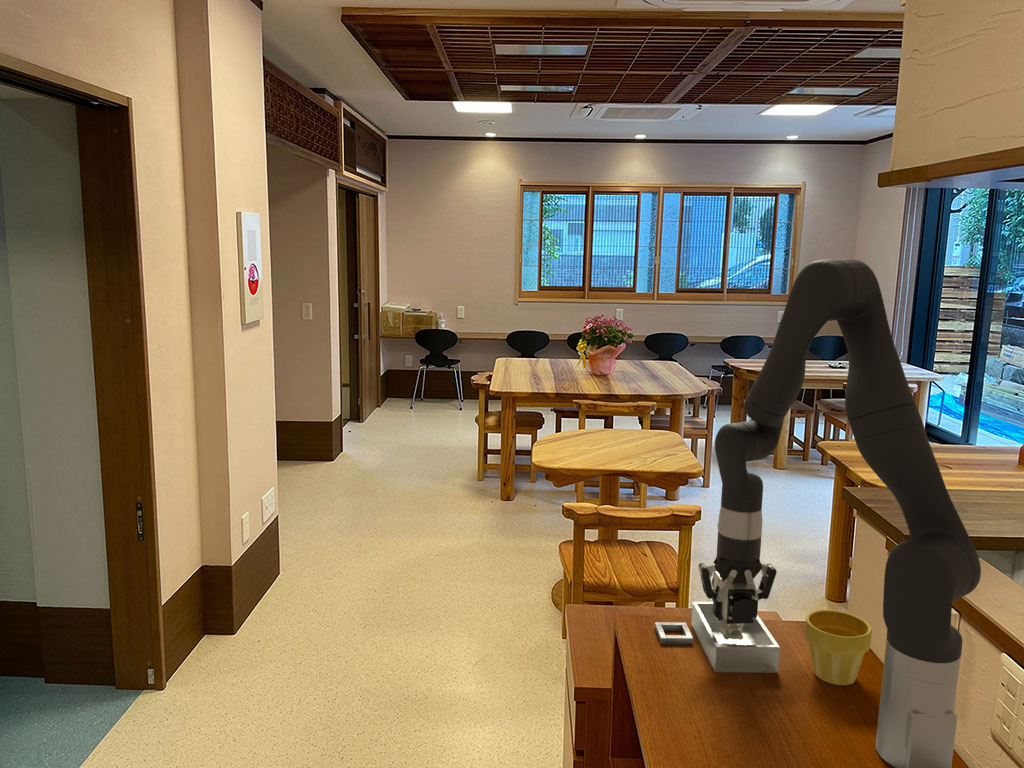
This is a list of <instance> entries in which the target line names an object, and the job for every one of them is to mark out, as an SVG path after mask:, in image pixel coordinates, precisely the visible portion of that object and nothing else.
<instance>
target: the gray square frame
mask: <svg viewBox="0 0 1024 768" xmlns="http://www.w3.org/2000/svg"><path fill="white" fill-rule="evenodd" d="M654 630H655V632H656V636H657V638H658V640H659V643H660V645H694V637H693V635H692V632H691V631H690V629H689V627H688V624H687V623H686V622H681V621H680V622H676V621H675V622H674V621H673V622H669V621H668V622H664V621H663V622H661V621H657V622H654ZM668 631H671V632H673V631H675V632H677V631H679V632H681V633H682V634H681V635H678V634H677V635H671V634H669V635H667V634H666V633H665V632H668Z"/></svg>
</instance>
